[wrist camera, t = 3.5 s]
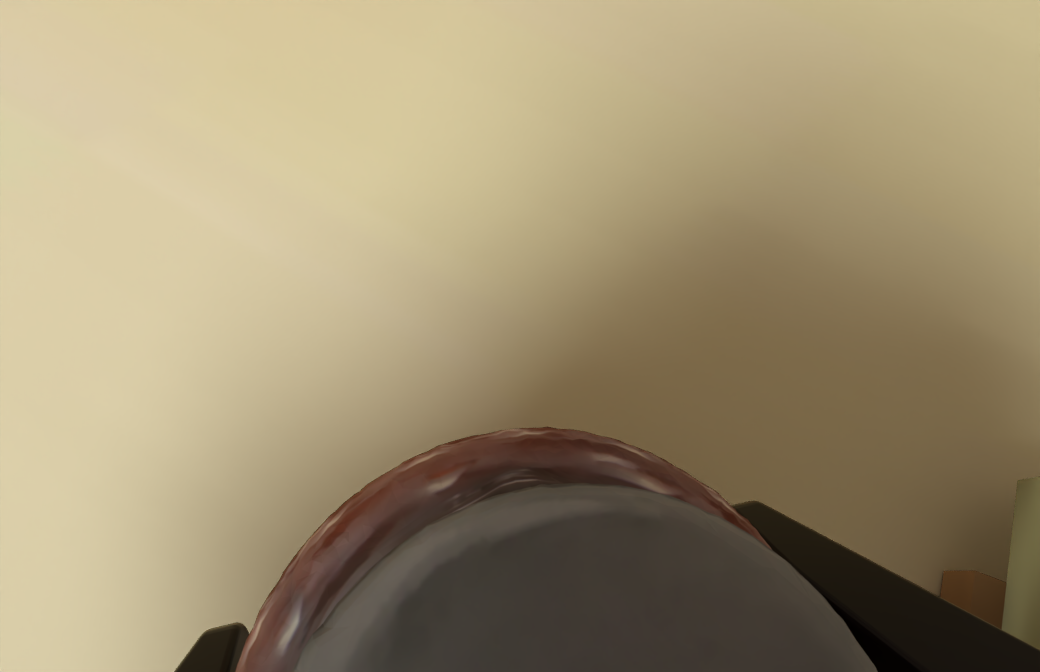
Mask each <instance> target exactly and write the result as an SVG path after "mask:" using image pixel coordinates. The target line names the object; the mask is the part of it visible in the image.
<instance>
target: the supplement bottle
mask: <svg viewBox="0 0 1040 672" xmlns="http://www.w3.org/2000/svg"><path fill="white" fill-rule="evenodd" d="M235 672H878V671H877V669H876V667H875V665H874V664H873V663H872V661H871V660H870V659H869V657H868V656H867V654H866V653H865V652H864V650H863V649H862V647H861V646H860V645H859V643H858V642H857V641H856V639H855V637H854V636H853V634H852V633H851V631H850V630H849V628H848V626H847V625H846V623H845V622H844V620H843V619H842V618H841V617H840V616H839V615H838V614H837V613H836V612H835V611H834V609H833V608H832V607H831V605H830V604H829V603H828V602H827V600H826V599H825V598H824V597H823V596H822V595H821V594H820V593H819V592H818V591H817V590H816V589H815V588H814V587H813V586H812V585H811V584H810V583H809V582H808V581H807V580H806V579H805V578H804V577H803V576H802V575H801V574H800V573H799V572H798V571H797V570H796V569H795V568H794V567H793V566H792V565H791V564H790V563H788V562H787V561H786V560H784V559H783V558H782V557H781V556H779V555H778V554H777V553H775V552H774V551H773V550H772V549H771V547H770V546H769V545H768V544H767V543H766V541H765V540H764V539H763V538H762V537H761V535H760V534H759V532H758V531H757V529H756V528H754V527H753V526H752V525H751V523H750V522H749V520H747V519H746V518H744V517H743V516H742V515H740V514H739V513H737V511H736V510H735V509H734V508H733V507H732V506H731V505H730V504H729V503H728V502H727V501H725V500H724V499H723V498H722V497H721V496H720V494H719V493H718V492H716V491H714V490H713V489H711V488H709V487H708V486H706V485H704V484H703V483H701V482H699V481H698V480H696V479H695V478H693V477H692V476H690V475H689V474H688V473H686V472H685V471H683V470H681V469H679V468H677V467H675V466H673V465H672V464H670V463H669V462H667V461H666V460H664V459H662V458H659V457H657V456H656V455H654V454H652V453H650V452H648V451H645V450H642V449H640V448H637V447H635V446H631V445H628V444H625V443H623V442H621V441H619V440H616V439H612V438H608V437H602V436H598V435H595V434H592V433H588V432H584V431H578V430H570V429H556V428H551V427H543V428H520V429H509V430H501V431H497V432H493V433H488V434H483V435H475V436H470V437H466V438H463V439H459V440H455V441H452V442H449V443H445V444H442V445H439V446H437V447H435V448H433V449H431V450H429V451H427V452H425V453H422V454H420V455H417V456H415V457H413V458H411V459H409V460H407V461H405V462H403V463H402V464H400V465H399V466H398V467H396V468H394V469H392V470H390V471H389V472H387V473H385V474H383V475H381V476H380V477H378V478H377V479H375V480H374V481H372V482H370V483H369V484H367V485H366V486H365V487H364V488H363V489H362V490H361V491H359V492H358V493H356V494H354V495H353V496H352V497H351V498H350V499H348V500H347V501H346V502H345V503H343V504H342V505H341V506H340V507H339V508H338V509H337V510H336V511H335V512H334V513H333V514H331V515H330V516H329V517H328V518H327V519H326V521H325V522H324V523H323V524H322V525H321V526H320V527H319V528H318V529H317V530H316V531H315V532H314V534H313V535H312V536H311V537H310V538H309V539H308V540H307V542H306V543H305V544H304V545H303V546H302V548H301V549H300V550H299V551H298V553H297V554H296V555H295V556H294V558H293V559H292V561H291V562H290V563H289V565H288V566H287V568H286V569H285V571H284V572H283V574H282V576H281V578H280V580H279V582H278V583H277V584H276V586H275V587H274V588H273V590H272V591H271V593H270V594H269V596H268V597H267V599H266V601H265V602H264V604H263V606H262V608H261V609H260V611H259V613H258V616H257V619H256V621H255V624H254V627H253V629H252V631H251V632H250V634H249V636H248V637H247V639H246V642H245V645H244V648H243V651H242V654H241V657H240V659H239V662H238V664H237V667H236V671H235Z"/></svg>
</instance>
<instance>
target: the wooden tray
mask: <svg viewBox="0 0 1040 672" xmlns="http://www.w3.org/2000/svg"><path fill="white" fill-rule="evenodd" d="M940 597H941V598H943V599H945V600H946V601H948V602H950V603H952V604H954V605H956V606H958V607H960V608H962V609H964V610H965V611H967V612H969V613H971V614H973V615H975V616H977V617H979V618H981V619H982V620H984V621H986V622H988V623H990V624H992V625H994V626H996V627H998V628H1000V629H1001V630H1003V631H1005V632H1007V633H1009V634H1011V635H1013V636H1015V637H1017V638H1018V639H1020V640H1022V641H1024V642H1026V643H1028V644H1030V645H1032V646H1034V647H1036V648H1037V649H1039V650H1040V477H1035V478H1029V479H1023V480H1018V481H1017V490H1016V499H1015V509H1014V518H1013V527H1012V537H1011V546H1010V555H1009V564H1008V574H1007V582H1004V581H1001V580H999V579H996V578H993V577H991V576H988V575H986V574H983V573H980V572H978V571H944V574H943V581H942V588H941V595H940Z"/></svg>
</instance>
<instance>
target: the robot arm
mask: <svg viewBox="0 0 1040 672" xmlns="http://www.w3.org/2000/svg"><path fill="white" fill-rule="evenodd" d="M731 506H732V507H733V508H734V509H735V510H736V511H737V513H739V514H740V515H742V516H743V517H744V518H746V519H747V520H749V522H750V523H751V525H752V526H753V527H754V528H756V529H757V531H758V532H759V534H760V535H761V537H762V538H763V539H764V540H765V541H766V543H767V544H768V545H769V546H770V547H771V549H772V550H773V551H774V552H775V553H777V554H778V555H779V556H781V557H782V558H783V559H784V560H786V561H787V562H788V563H790V564H791V565H792V566H793V567H794V568H795V569H796V570H797V571H798V572H799V573H800V574H801V575H802V576H803V577H804V578H805V579H806V580H807V581H808V582H809V583H810V584H811V585H812V586H813V587H814V588H815V589H816V590H817V591H818V592H819V593H820V594H821V595H822V596H823V597H824V598H825V599H826V600H827V602H828V603H829V604H830V605H831V607H832V608H833V609H834V611H835V612H836V613H837V614H838V615H839V616H840V617H841V618H842V619H843V620H844V622H845V623H846V625H847V626H848V628H849V630H850V631H851V633H852V634H853V636H854V637H855V639H856V641H857V642H858V643H859V645H860V646H861V647H862V649H863V650H864V652H865V653H866V654H867V656H868V657H869V659H870V660H871V661H872V663H873V664H874V665H875V667H876V669H877V671H878V672H1040V650H1039V649H1037V648H1036V647H1034V646H1032V645H1030V644H1028V643H1026V642H1024V641H1022V640H1020V639H1018V638H1017V637H1015V636H1013V635H1011V634H1009V633H1007V632H1005V631H1003V630H1001V629H1000V628H998V627H996V626H994V625H992V624H990V623H988V622H986V621H984V620H982V619H981V618H979V617H977V616H975V615H973V614H971V613H969V612H967V611H965V610H964V609H962V608H960V607H958V606H956V605H954V604H952V603H950V602H948V601H946V600H945V599H943V598H941V597H939V596H937V595H935V594H933V593H931V592H929V591H928V590H926V589H924V588H922V587H920V586H918V585H916V584H914V583H912V582H910V581H909V580H907V579H905V578H903V577H901V576H899V575H897V574H895V573H893V572H892V571H890V570H888V569H886V568H884V567H882V566H880V565H878V564H876V563H874V562H873V561H871V560H869V559H867V558H865V557H863V556H861V555H859V554H857V553H856V552H854V551H852V550H850V549H848V548H846V547H844V546H842V545H840V544H839V543H837V542H835V541H833V540H831V539H829V538H827V537H825V536H823V535H821V534H820V533H818V532H816V531H814V530H812V529H810V528H808V527H806V526H804V525H803V524H801V523H799V522H797V521H795V520H793V519H791V518H789V517H787V516H785V515H784V514H782V513H780V512H778V511H776V510H774V509H772V508H770V507H768V506H767V505H765V504H763V503H760V502H758V501H748V502H744V503H740V504H736V505H731ZM248 636H249V633H248V630H247V628H246V627H245V626H244V625H243V624H242V623H233V624H228V625H224V626H220V627H216V628H212V629H209V630H207V631H205V632H204V633H203V634H202V635H201V636H200V637H199V639H198V640H197V642H196V643H195V644H194V646H193V647H192V648H191V650H190V651H189V652H188V654H187V655H186V657H185V658H184V659H183V661H182V662H181V663H180V665H179V666H178V667H177V669H176V670H175V671H174V672H235V671H236V667H237V664H238V662H239V659H240V657H241V654H242V651H243V648H244V645H245V642H246V639H247V637H248Z"/></svg>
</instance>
